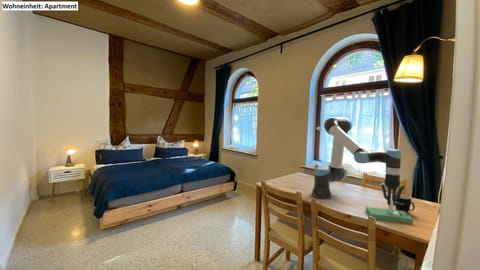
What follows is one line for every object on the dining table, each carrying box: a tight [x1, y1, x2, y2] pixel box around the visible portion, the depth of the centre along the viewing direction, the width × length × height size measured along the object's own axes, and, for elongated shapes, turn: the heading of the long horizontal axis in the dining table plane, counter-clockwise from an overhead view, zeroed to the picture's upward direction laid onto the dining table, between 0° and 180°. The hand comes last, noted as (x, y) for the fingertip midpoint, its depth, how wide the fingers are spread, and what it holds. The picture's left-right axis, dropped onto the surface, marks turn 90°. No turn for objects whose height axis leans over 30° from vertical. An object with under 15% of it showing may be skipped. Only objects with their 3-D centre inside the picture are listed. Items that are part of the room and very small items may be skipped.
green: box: [365, 206, 414, 225], centre depth 136 cm, size 22×12×3 cm, turn 73°
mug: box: [394, 194, 416, 214], centre depth 144 cm, size 12×9×10 cm
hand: (390, 210), depth 135 cm, fingers closed
